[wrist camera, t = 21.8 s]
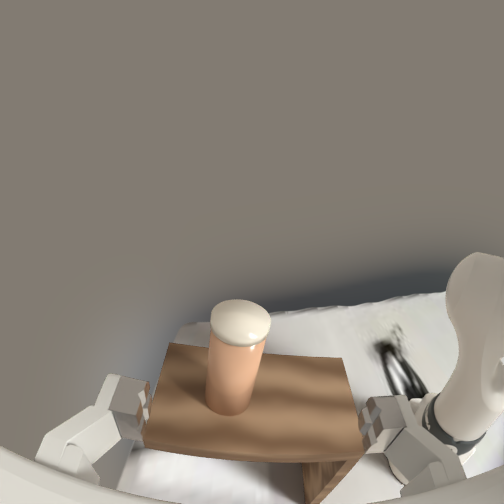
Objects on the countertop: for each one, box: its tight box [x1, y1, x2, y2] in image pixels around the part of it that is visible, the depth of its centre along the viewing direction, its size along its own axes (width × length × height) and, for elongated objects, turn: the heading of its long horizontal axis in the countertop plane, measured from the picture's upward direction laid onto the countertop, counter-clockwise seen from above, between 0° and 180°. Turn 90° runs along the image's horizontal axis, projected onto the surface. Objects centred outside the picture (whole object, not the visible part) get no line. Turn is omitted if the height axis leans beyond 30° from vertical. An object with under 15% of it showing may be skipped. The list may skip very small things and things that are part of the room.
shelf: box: [143, 343, 365, 504], centre depth 38 cm, size 15×23×20 cm, turn 89°
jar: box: [205, 299, 271, 416], centre depth 31 cm, size 5×5×12 cm
